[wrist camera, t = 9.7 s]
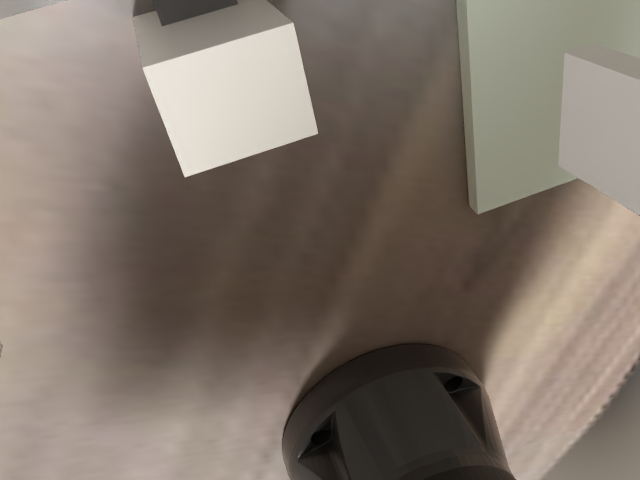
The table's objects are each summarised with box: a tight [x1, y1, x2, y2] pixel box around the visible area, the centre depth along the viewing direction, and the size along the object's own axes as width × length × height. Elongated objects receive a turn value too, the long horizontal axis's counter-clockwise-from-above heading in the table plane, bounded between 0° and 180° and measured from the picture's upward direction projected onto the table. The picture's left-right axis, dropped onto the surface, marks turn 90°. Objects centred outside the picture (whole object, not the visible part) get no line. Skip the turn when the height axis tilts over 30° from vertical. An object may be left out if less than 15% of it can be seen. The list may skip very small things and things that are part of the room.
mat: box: [456, 0, 640, 214], centre depth 30 cm, size 19×10×1 cm, turn 12°
